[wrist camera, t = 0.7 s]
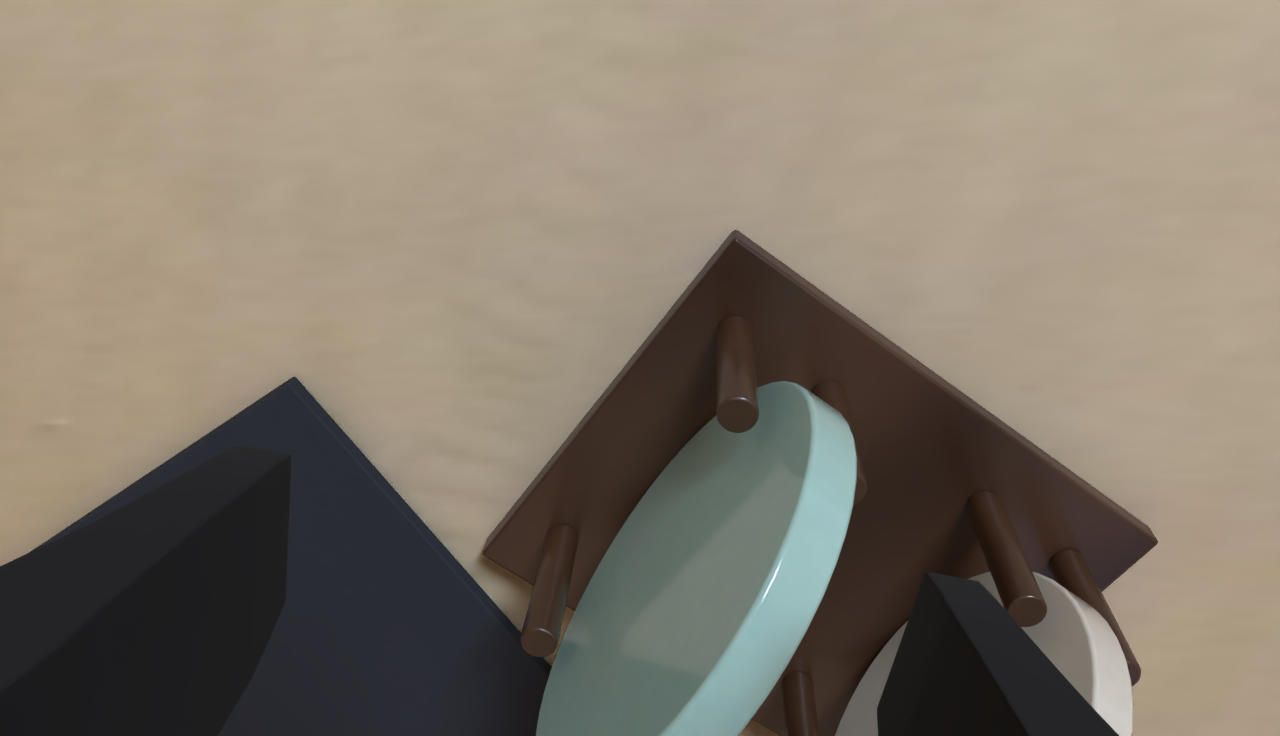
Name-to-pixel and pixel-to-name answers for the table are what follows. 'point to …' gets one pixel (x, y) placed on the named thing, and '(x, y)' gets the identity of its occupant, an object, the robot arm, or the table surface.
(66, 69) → the table surface
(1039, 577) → the cream saucer
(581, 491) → the plate rack
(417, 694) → the charcoal mat
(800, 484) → the pale green plate
